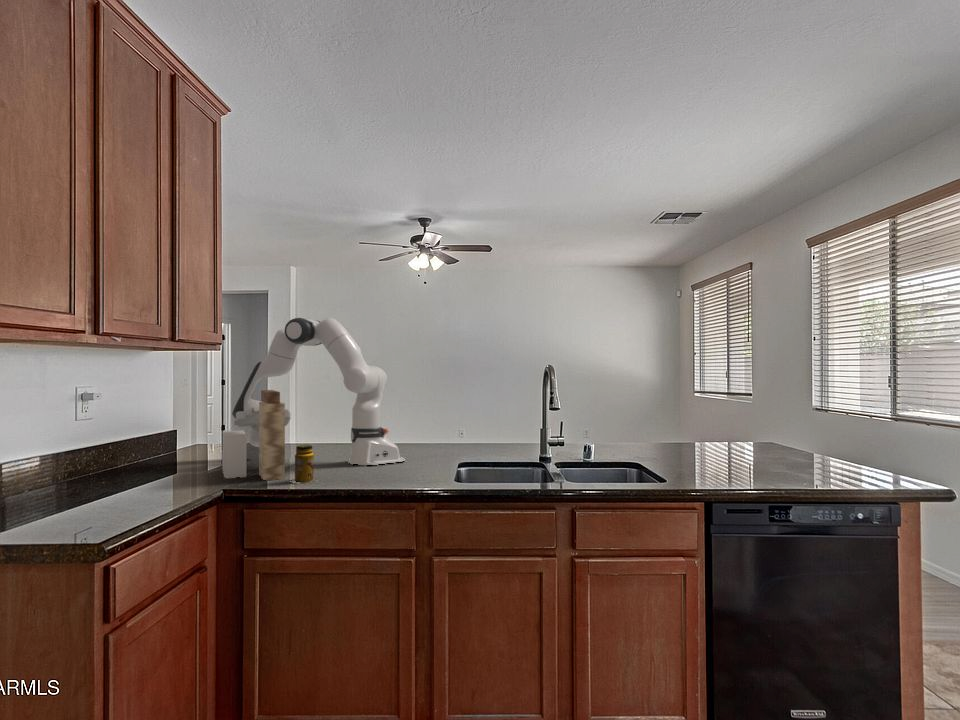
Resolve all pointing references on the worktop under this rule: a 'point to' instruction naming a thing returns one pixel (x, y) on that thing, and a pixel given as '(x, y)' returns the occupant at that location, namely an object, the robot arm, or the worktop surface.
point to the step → (234, 454)
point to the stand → (271, 441)
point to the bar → (270, 396)
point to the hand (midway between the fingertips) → (265, 408)
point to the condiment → (304, 464)
